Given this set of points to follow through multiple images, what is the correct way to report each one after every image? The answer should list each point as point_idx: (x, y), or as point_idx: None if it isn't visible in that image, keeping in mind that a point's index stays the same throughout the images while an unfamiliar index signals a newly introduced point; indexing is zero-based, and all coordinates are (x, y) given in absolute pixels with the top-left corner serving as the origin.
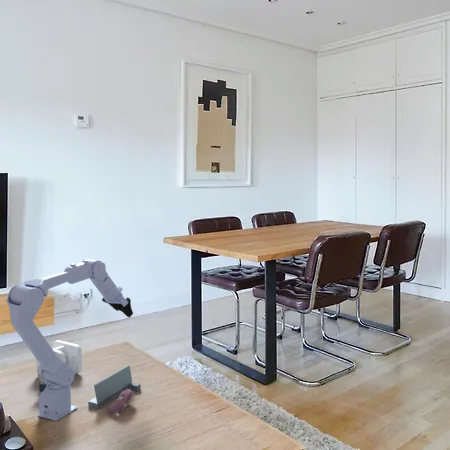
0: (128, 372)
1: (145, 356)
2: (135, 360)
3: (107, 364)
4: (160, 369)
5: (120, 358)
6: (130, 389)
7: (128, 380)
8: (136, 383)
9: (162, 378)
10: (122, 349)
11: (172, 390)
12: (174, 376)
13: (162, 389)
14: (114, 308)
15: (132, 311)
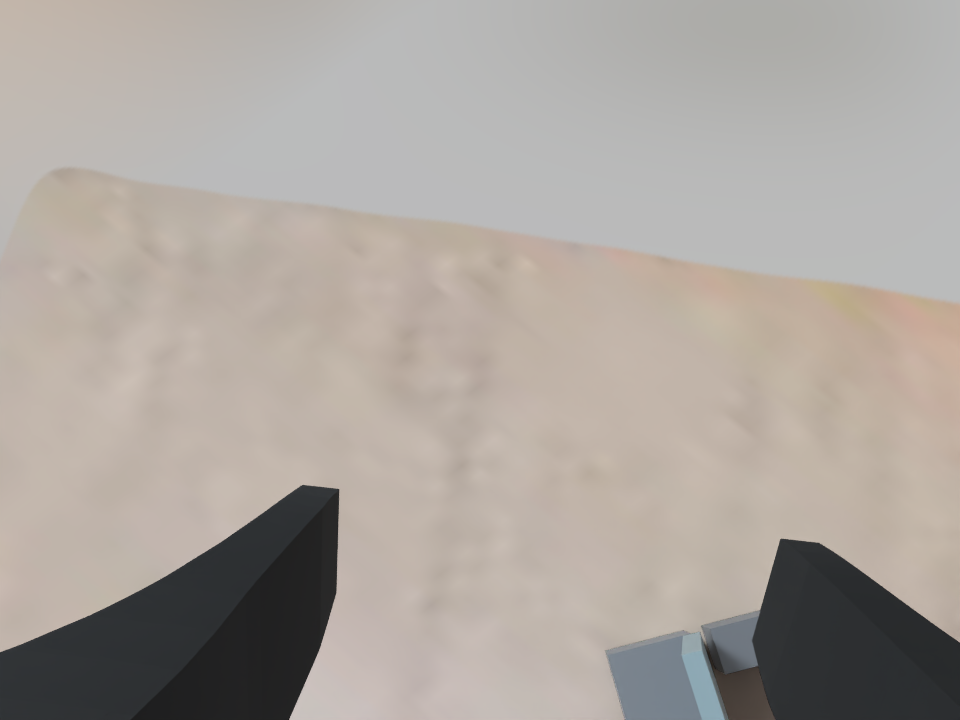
0: (711, 674)
1: (327, 219)
2: (324, 302)
3: (220, 466)
4: (575, 294)
5: (215, 343)
6: (718, 668)
7: (715, 681)
8: (742, 627)
9: (707, 381)
10: (112, 240)
11: (926, 470)
12: (740, 310)
13: (862, 503)
14: (299, 688)
15: (862, 574)
